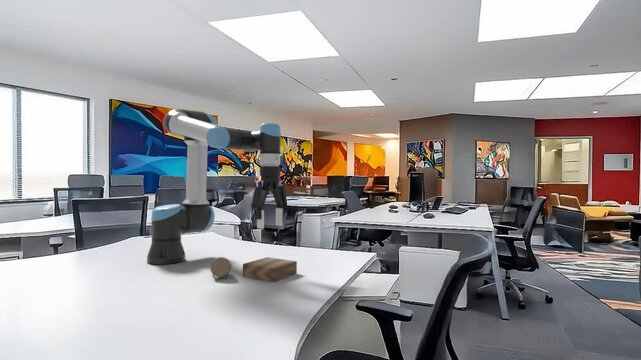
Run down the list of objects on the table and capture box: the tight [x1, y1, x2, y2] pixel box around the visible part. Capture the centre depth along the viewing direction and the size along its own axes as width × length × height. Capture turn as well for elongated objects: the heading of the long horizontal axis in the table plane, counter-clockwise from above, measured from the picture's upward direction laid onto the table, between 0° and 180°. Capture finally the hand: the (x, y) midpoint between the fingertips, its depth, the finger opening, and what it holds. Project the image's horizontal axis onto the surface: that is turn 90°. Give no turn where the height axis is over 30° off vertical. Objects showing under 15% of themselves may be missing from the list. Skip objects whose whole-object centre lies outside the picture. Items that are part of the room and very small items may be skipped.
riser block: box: [242, 256, 298, 283], centre depth 144 cm, size 14×14×5 cm
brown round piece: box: [209, 256, 232, 278], centre depth 141 cm, size 8×10×10 cm
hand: (270, 226), depth 143 cm, fingers open, 9 cm apart
